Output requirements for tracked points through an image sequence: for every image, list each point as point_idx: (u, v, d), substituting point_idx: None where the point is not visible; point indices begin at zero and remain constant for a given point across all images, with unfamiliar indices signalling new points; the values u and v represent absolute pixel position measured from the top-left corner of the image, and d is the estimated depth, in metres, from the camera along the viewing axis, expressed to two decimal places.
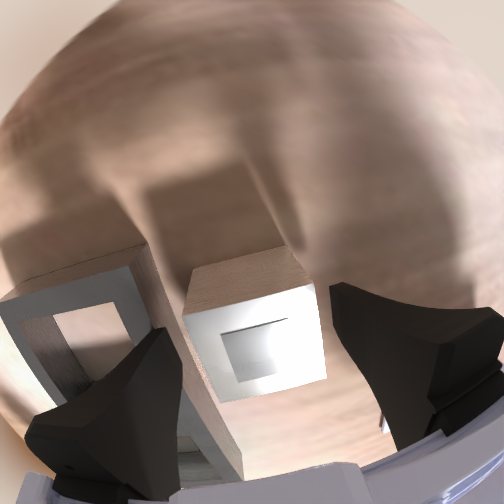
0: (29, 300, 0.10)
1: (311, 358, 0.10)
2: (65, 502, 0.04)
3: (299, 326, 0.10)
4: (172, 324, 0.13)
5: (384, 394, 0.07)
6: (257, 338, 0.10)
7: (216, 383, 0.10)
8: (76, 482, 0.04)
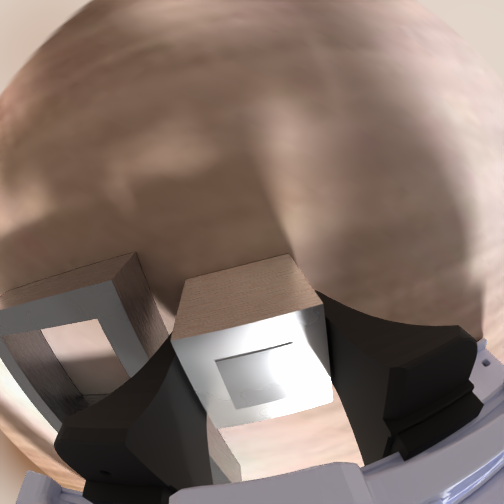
0: (11, 314, 0.08)
1: (317, 383, 0.09)
2: (65, 502, 0.04)
3: (305, 351, 0.08)
4: (163, 339, 0.12)
5: (350, 407, 0.07)
6: (257, 365, 0.08)
7: (211, 410, 0.09)
8: (111, 488, 0.04)
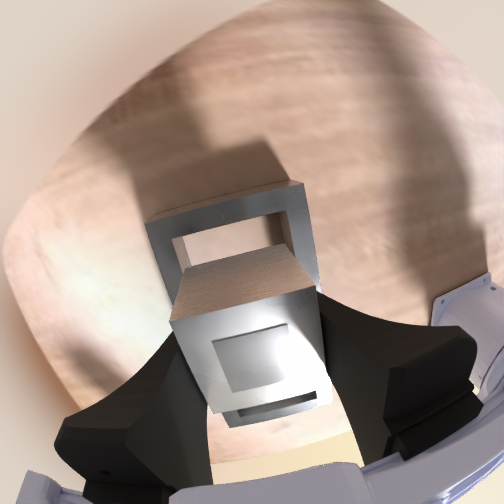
0: (198, 214, 0.15)
1: (312, 366, 0.09)
2: (65, 502, 0.04)
3: (299, 333, 0.09)
4: None
5: (350, 408, 0.07)
6: (253, 346, 0.09)
7: (208, 393, 0.09)
8: (111, 488, 0.04)
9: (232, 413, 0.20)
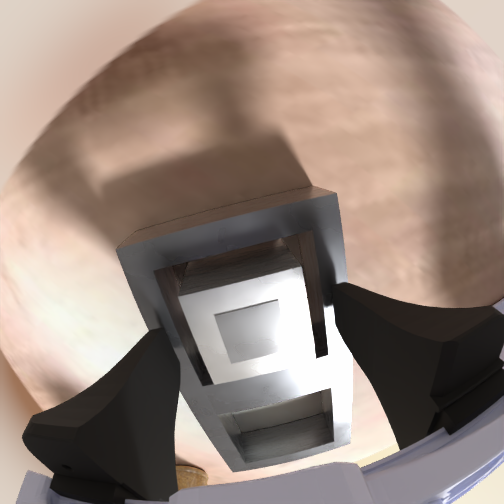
0: (189, 236, 0.11)
1: (301, 340, 0.11)
2: (65, 502, 0.04)
3: (288, 308, 0.10)
4: None
5: (386, 393, 0.07)
6: (249, 319, 0.10)
7: (210, 364, 0.11)
8: (73, 481, 0.04)
9: (235, 460, 0.16)
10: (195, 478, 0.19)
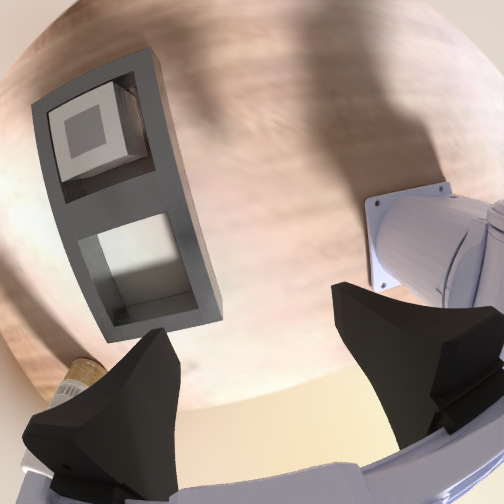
0: (66, 88, 0.12)
1: (114, 135, 0.13)
2: (65, 502, 0.04)
3: (104, 109, 0.12)
4: (168, 109, 0.16)
5: (386, 393, 0.07)
6: (81, 120, 0.12)
7: (59, 161, 0.13)
8: (73, 481, 0.04)
9: (104, 318, 0.17)
10: (92, 371, 0.21)
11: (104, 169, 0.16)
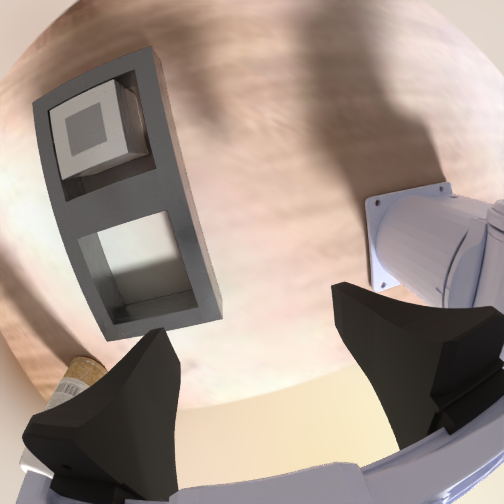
0: (67, 86, 0.12)
1: (115, 133, 0.13)
2: (65, 502, 0.04)
3: (105, 107, 0.12)
4: (169, 108, 0.16)
5: (386, 393, 0.07)
6: (82, 118, 0.12)
7: (60, 159, 0.13)
8: (73, 481, 0.04)
9: (103, 317, 0.17)
10: (91, 369, 0.21)
11: (104, 167, 0.16)
